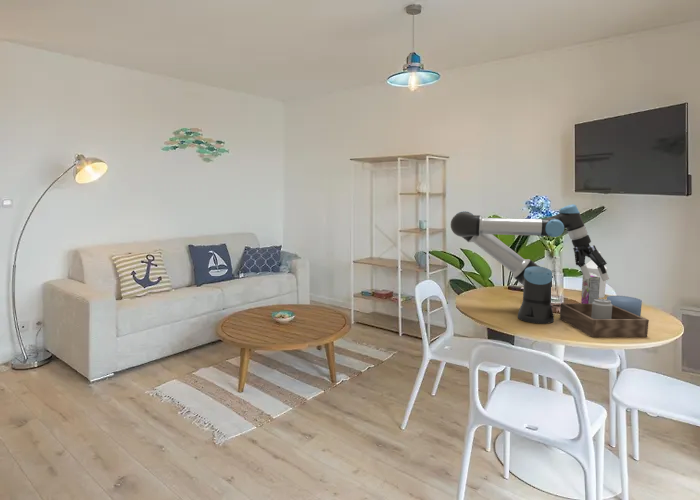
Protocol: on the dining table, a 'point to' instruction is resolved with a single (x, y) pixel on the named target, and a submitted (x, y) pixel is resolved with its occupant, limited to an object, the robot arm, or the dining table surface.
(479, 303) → the dining table surface
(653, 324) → the dining table surface
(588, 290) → the candy bar box
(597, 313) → the can
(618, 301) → the stand
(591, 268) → the bottle
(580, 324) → the crate
